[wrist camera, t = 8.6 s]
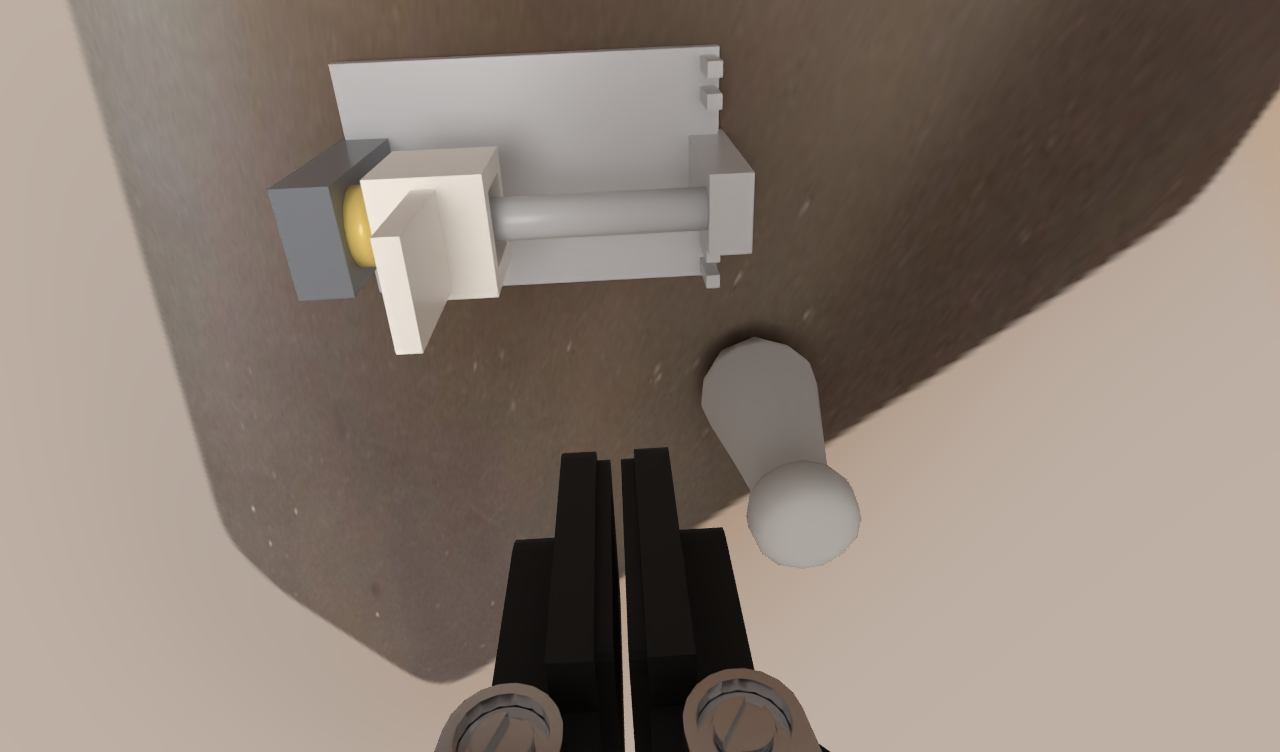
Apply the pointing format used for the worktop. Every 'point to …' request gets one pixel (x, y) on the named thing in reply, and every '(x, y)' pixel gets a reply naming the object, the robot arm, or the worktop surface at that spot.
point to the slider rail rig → (537, 163)
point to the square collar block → (433, 235)
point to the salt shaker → (780, 452)
